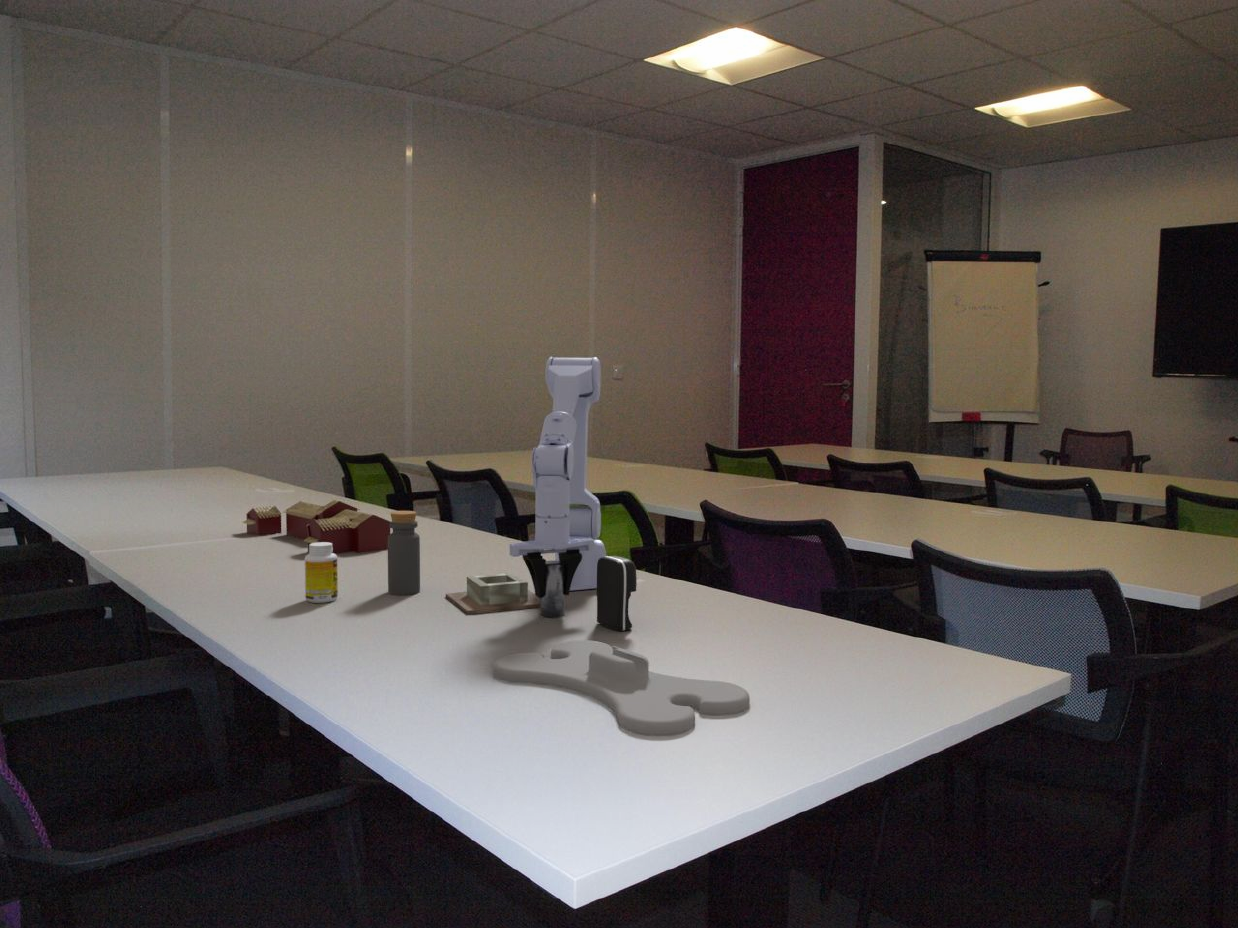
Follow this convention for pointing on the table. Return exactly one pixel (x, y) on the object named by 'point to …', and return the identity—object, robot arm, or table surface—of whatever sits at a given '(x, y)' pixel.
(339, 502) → the toy houses
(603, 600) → the battery charger
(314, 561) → the supplement bottle
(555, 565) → the peg
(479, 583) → the socket
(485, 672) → the table surface
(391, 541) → the bottle
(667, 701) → the holder
